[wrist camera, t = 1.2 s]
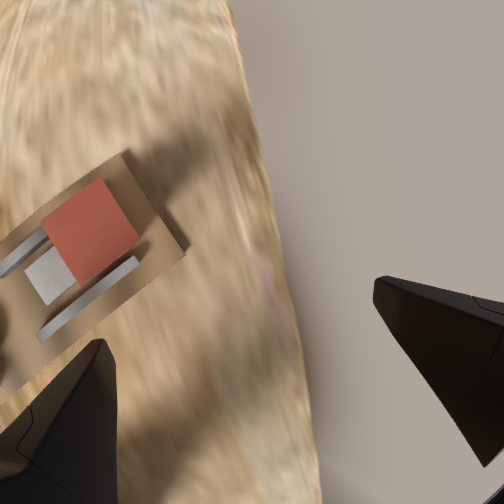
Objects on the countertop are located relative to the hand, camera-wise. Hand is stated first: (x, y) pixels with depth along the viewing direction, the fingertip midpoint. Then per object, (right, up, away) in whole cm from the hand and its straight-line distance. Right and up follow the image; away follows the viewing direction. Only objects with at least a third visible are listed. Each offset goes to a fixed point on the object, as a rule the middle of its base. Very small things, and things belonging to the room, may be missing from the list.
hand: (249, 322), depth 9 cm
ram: (-13, +2, +11) cm, 17 cm away
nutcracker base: (-17, -1, +11) cm, 20 cm away
